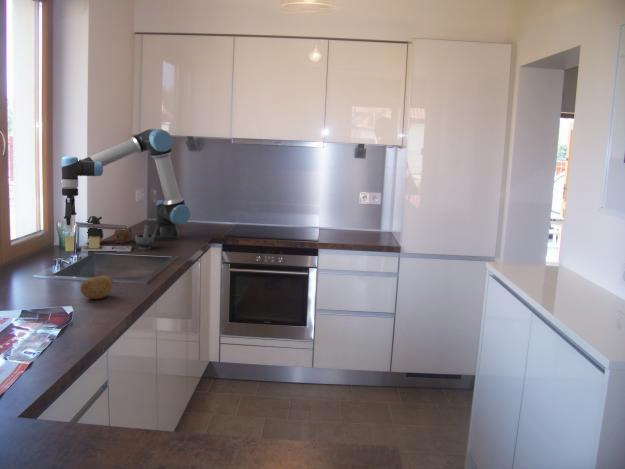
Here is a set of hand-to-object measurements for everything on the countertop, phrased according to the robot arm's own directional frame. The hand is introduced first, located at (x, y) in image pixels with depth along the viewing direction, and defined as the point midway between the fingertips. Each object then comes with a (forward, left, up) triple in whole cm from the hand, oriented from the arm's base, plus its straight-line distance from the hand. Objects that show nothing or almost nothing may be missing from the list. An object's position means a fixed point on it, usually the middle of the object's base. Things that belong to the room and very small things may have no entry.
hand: (70, 229), depth 282 cm
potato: (-20, +92, -11) cm, 95 cm away
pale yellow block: (-11, 0, -11) cm, 15 cm away
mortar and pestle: (-36, -3, -11) cm, 38 cm away
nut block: (0, 0, -11) cm, 11 cm away
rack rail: (-17, 0, -11) cm, 20 cm away
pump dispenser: (-9, -19, -11) cm, 24 cm away
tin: (-24, -22, -11) cm, 35 cm away
